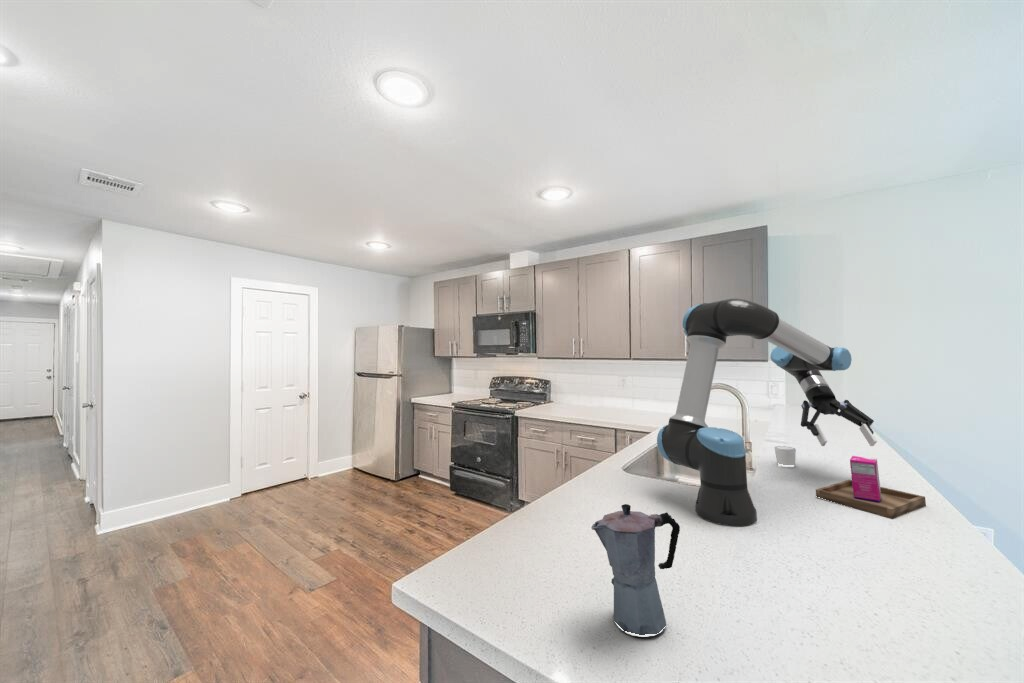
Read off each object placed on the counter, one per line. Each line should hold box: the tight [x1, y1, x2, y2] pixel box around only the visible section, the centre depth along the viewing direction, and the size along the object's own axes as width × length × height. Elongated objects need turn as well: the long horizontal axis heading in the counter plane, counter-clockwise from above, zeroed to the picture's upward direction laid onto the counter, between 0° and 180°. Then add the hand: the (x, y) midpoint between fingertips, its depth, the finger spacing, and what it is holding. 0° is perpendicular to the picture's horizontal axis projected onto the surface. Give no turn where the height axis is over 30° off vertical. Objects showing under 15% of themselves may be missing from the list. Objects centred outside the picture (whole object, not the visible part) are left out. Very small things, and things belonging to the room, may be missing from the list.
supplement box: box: [849, 455, 882, 503], centre depth 114 cm, size 6×6×12 cm
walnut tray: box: [815, 479, 927, 520], centre depth 114 cm, size 18×18×2 cm
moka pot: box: [591, 503, 681, 635], centre depth 68 cm, size 10×15×20 cm, turn 95°
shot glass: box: [774, 445, 797, 466], centre depth 152 cm, size 7×7×7 cm
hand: (848, 443), depth 122 cm, fingers open, 13 cm apart
